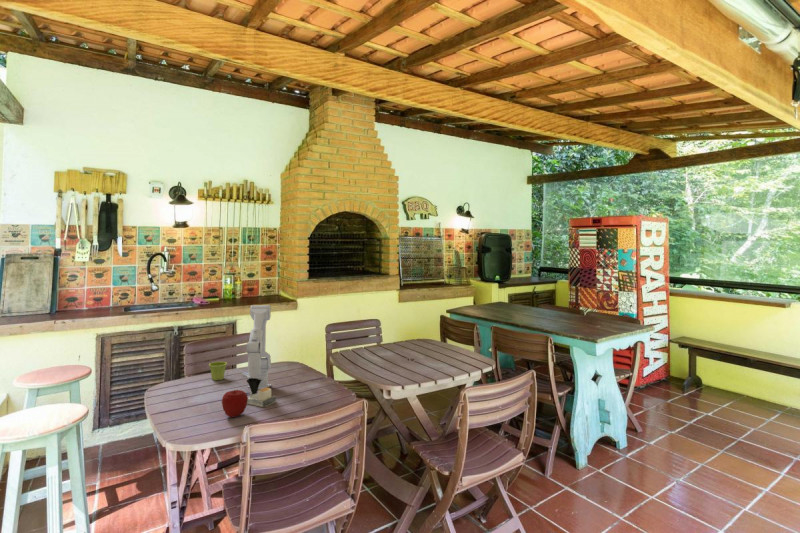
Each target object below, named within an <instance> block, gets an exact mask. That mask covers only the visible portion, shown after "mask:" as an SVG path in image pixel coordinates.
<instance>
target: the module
mask: <svg viewBox="0 0 800 533" xmlns="http://www.w3.org/2000/svg"><path fill="white" fill-rule="evenodd" d="M257 394H258V400H260V401H264V400H266V399H269V398H271V397H272V388H270V387H267V388H263V389H261V390H260V389H258V390H257Z"/></svg>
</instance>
